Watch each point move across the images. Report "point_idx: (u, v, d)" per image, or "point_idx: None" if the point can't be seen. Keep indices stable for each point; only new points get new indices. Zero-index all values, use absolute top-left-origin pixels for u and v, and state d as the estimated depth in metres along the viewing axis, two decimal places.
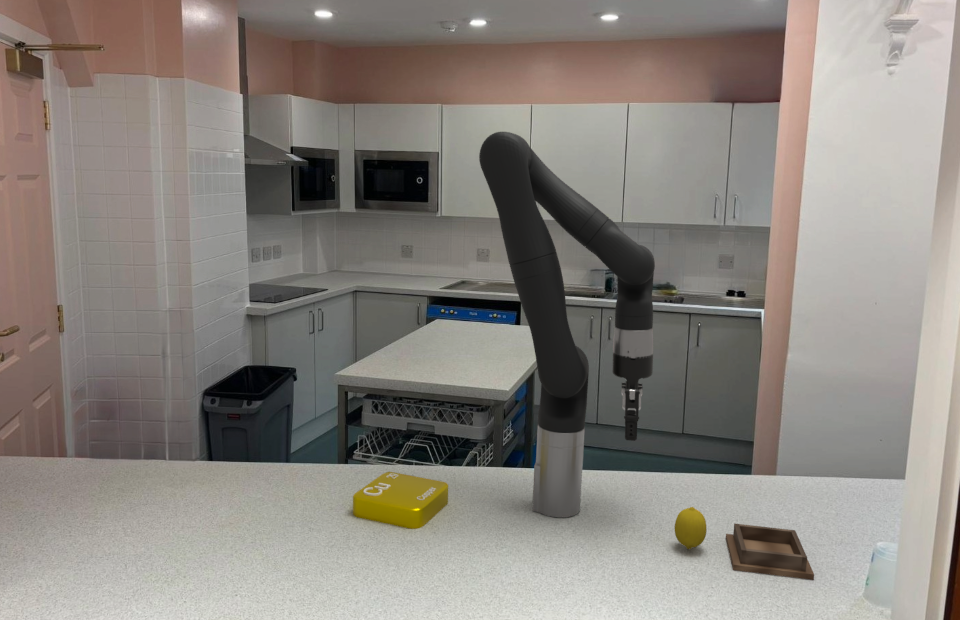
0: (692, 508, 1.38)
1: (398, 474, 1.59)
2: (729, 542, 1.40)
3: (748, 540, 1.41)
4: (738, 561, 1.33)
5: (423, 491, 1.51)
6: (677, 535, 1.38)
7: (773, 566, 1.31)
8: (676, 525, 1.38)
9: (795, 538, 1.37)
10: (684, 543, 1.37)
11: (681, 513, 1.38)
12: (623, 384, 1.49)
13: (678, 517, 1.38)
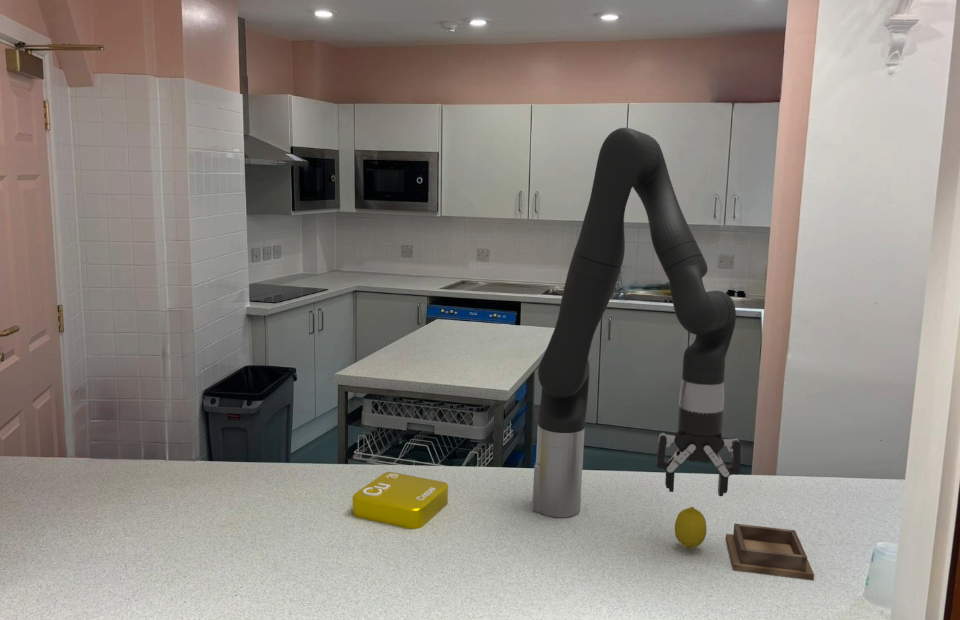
0: (692, 508, 1.38)
1: (398, 474, 1.59)
2: (729, 542, 1.40)
3: (748, 540, 1.41)
4: (738, 561, 1.33)
5: (423, 491, 1.51)
6: (677, 535, 1.38)
7: (773, 566, 1.31)
8: (676, 525, 1.38)
9: (795, 538, 1.37)
10: (684, 543, 1.37)
11: (681, 513, 1.38)
12: (694, 445, 1.35)
13: (678, 517, 1.38)
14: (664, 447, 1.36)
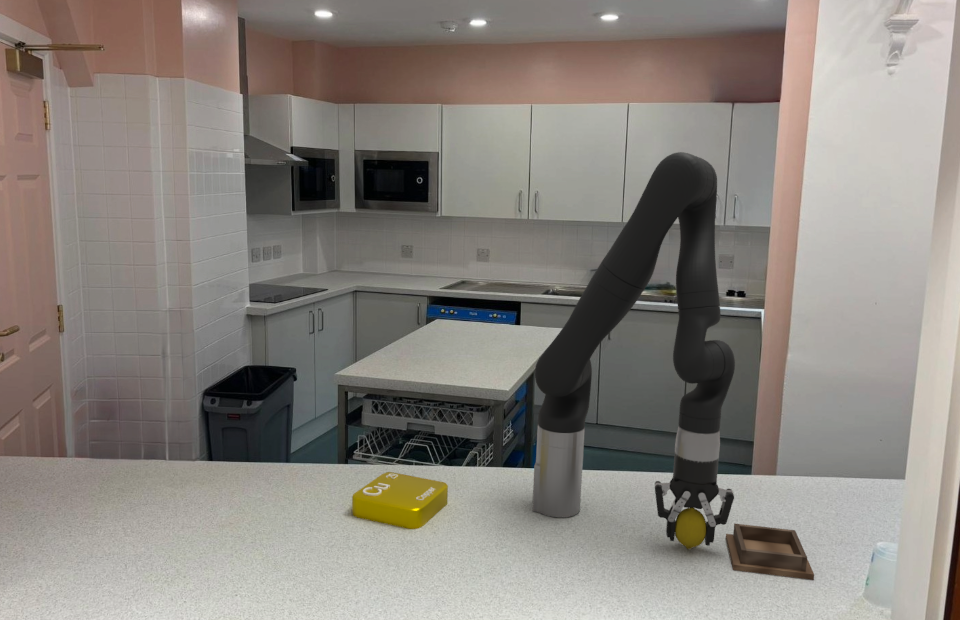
0: (692, 508, 1.38)
1: (398, 474, 1.59)
2: (729, 542, 1.40)
3: (748, 540, 1.41)
4: (738, 561, 1.33)
5: (422, 491, 1.51)
6: (677, 535, 1.38)
7: (773, 566, 1.31)
8: (676, 525, 1.38)
9: (795, 538, 1.37)
10: (684, 543, 1.37)
11: (681, 513, 1.38)
12: (689, 491, 1.36)
13: (678, 517, 1.38)
14: (661, 496, 1.37)
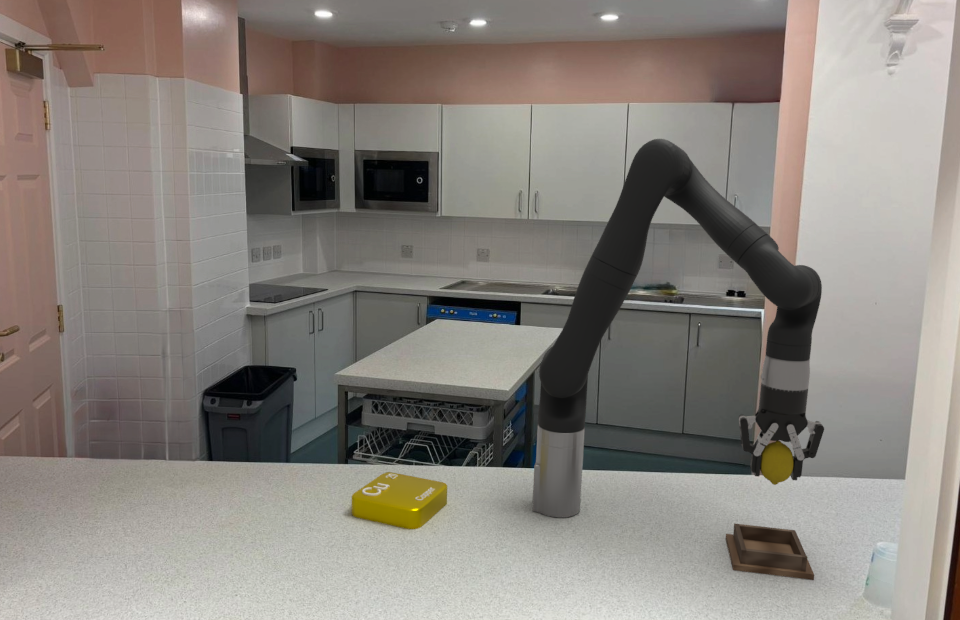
0: (779, 441, 1.33)
1: (397, 474, 1.59)
2: (729, 542, 1.40)
3: (748, 540, 1.41)
4: (738, 561, 1.33)
5: (422, 491, 1.51)
6: (763, 470, 1.33)
7: (773, 566, 1.31)
8: (762, 459, 1.33)
9: (795, 538, 1.37)
10: (771, 477, 1.32)
11: (767, 447, 1.33)
12: (776, 423, 1.31)
13: (764, 451, 1.33)
14: (747, 429, 1.33)
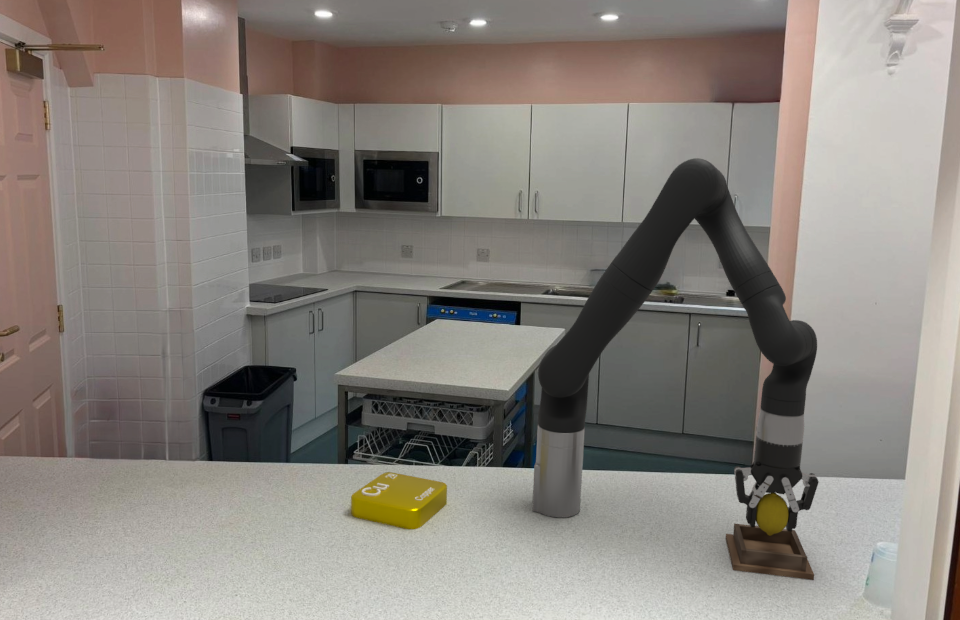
0: (774, 493, 1.34)
1: (397, 474, 1.59)
2: (729, 542, 1.40)
3: (748, 540, 1.41)
4: (738, 561, 1.33)
5: (421, 491, 1.51)
6: (758, 521, 1.35)
7: (773, 566, 1.31)
8: (757, 511, 1.35)
9: (795, 538, 1.37)
10: (766, 529, 1.34)
11: (762, 498, 1.35)
12: (771, 476, 1.33)
13: (759, 503, 1.35)
14: (742, 481, 1.34)
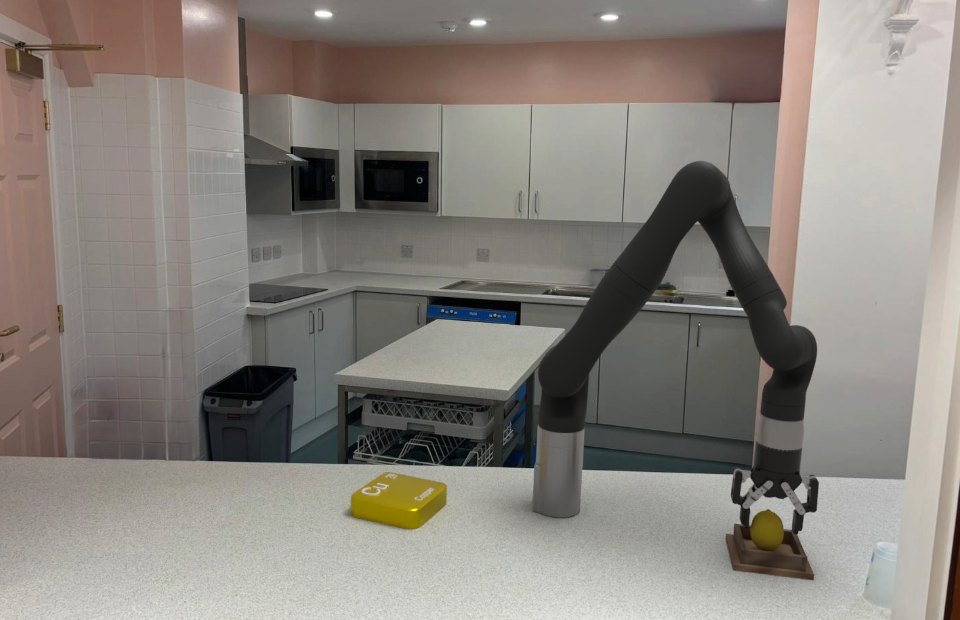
0: (769, 510, 1.35)
1: (397, 474, 1.59)
2: (729, 542, 1.40)
3: (748, 540, 1.41)
4: (738, 561, 1.33)
5: (421, 491, 1.51)
6: (754, 538, 1.35)
7: (773, 566, 1.31)
8: (752, 528, 1.35)
9: (795, 538, 1.37)
10: (761, 546, 1.35)
11: (757, 516, 1.36)
12: (771, 481, 1.33)
13: (754, 520, 1.36)
14: (740, 483, 1.34)
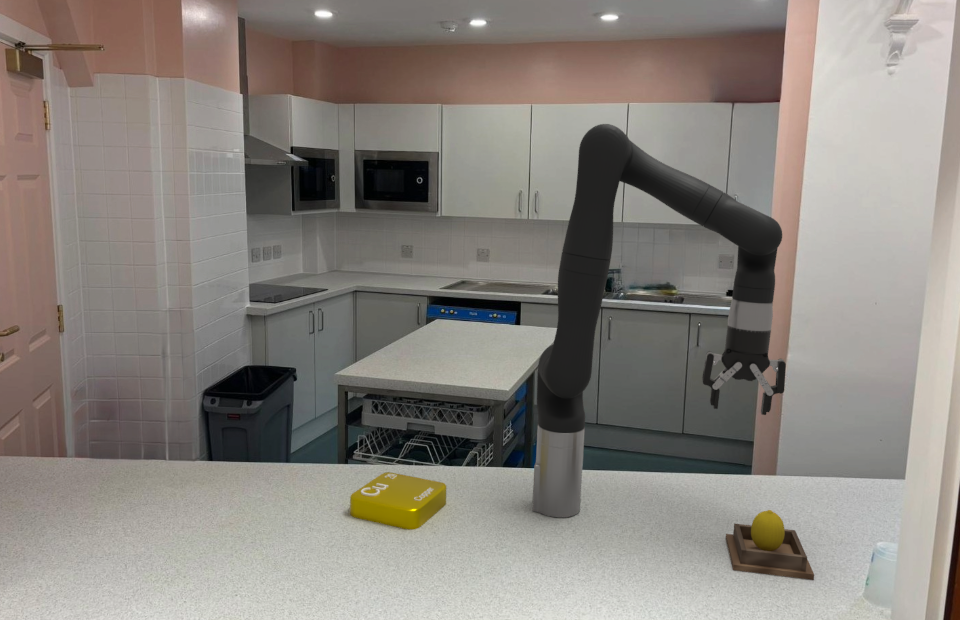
0: (770, 511, 1.35)
1: (396, 474, 1.59)
2: (729, 542, 1.40)
3: (748, 540, 1.41)
4: (738, 561, 1.33)
5: (421, 491, 1.51)
6: (754, 538, 1.35)
7: (773, 566, 1.31)
8: (753, 528, 1.35)
9: (795, 538, 1.37)
10: (762, 547, 1.34)
11: (759, 516, 1.35)
12: (741, 363, 1.40)
13: (755, 520, 1.35)
14: (711, 364, 1.42)
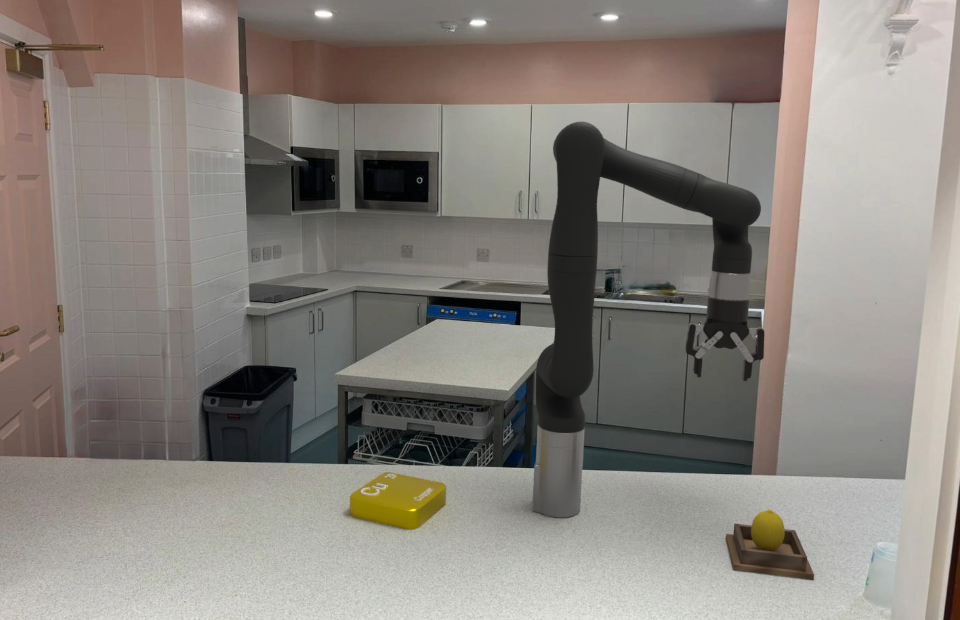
0: (770, 511, 1.35)
1: (396, 475, 1.59)
2: (729, 542, 1.40)
3: (748, 540, 1.41)
4: (738, 561, 1.33)
5: (420, 491, 1.51)
6: (755, 538, 1.35)
7: (773, 566, 1.31)
8: (753, 528, 1.35)
9: (795, 538, 1.37)
10: (762, 547, 1.34)
11: (759, 516, 1.35)
12: (722, 332, 1.46)
13: (756, 520, 1.35)
14: (693, 335, 1.47)
